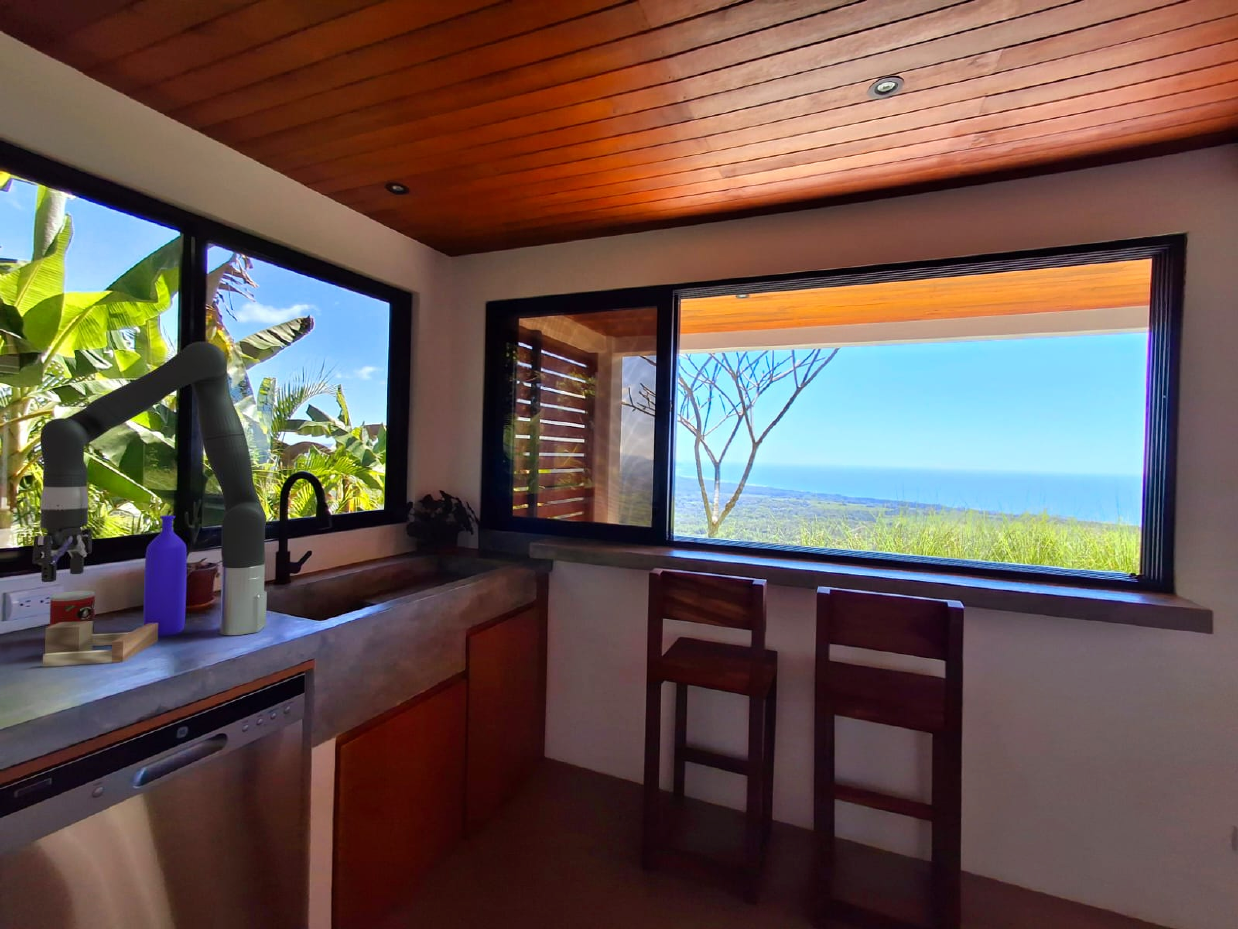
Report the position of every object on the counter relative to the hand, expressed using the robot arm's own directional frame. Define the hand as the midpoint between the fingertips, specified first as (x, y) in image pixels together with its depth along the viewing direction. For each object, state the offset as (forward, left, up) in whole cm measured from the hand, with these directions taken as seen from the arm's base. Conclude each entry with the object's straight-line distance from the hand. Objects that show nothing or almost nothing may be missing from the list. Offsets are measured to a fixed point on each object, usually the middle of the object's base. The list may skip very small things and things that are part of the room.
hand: (63, 577), depth 122 cm
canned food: (+4, -11, -17) cm, 21 cm away
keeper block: (-2, +2, -17) cm, 18 cm away
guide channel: (-9, +2, -17) cm, 19 cm away
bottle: (-14, -13, -17) cm, 26 cm away
